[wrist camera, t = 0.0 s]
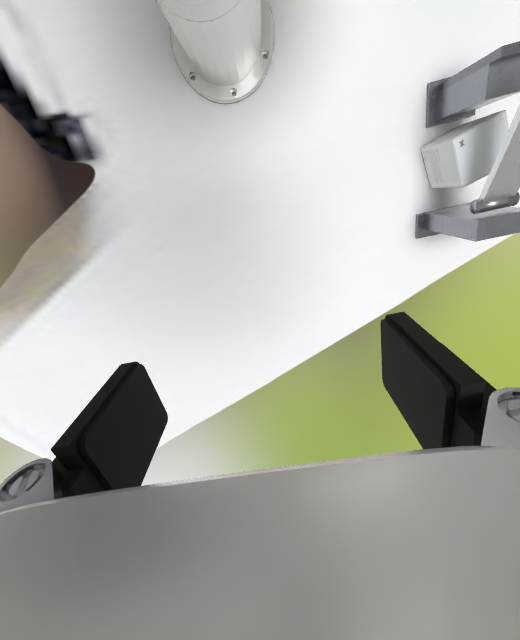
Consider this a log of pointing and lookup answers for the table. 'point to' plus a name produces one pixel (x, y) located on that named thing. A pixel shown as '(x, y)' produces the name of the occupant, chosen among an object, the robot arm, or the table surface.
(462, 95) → the lug block
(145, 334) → the table surface
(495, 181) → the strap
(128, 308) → the table surface
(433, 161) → the product box
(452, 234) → the hinge post
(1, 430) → the table surface
